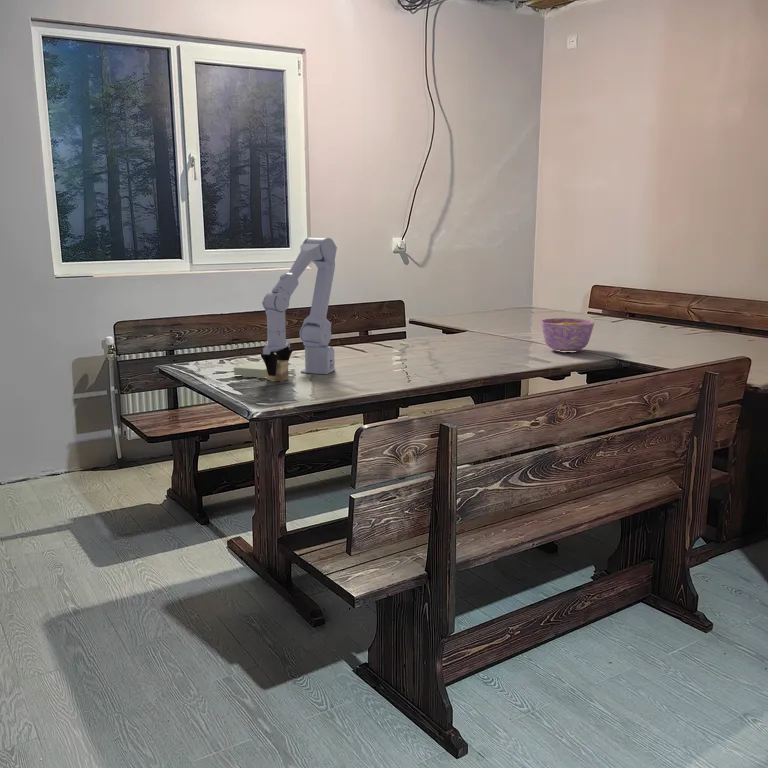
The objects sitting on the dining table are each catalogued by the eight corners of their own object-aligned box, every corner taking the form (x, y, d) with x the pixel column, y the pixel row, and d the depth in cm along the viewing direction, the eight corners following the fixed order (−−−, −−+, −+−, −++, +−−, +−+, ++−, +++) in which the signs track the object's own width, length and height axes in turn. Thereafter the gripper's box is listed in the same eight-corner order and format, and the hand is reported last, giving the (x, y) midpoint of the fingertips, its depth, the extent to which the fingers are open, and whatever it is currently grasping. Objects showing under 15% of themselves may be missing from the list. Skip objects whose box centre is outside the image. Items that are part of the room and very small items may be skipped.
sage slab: (280, 372, 256) (280, 363, 255) (264, 378, 246) (264, 369, 245) (251, 370, 260) (250, 361, 259) (234, 376, 250) (234, 367, 249)
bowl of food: (588, 347, 305) (589, 318, 303) (596, 356, 286) (598, 325, 284) (537, 346, 307) (538, 317, 305) (542, 355, 288) (543, 324, 285)
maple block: (288, 378, 246) (288, 360, 245) (281, 382, 242) (280, 363, 240) (274, 377, 248) (274, 359, 247) (267, 380, 243) (266, 362, 242)
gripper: (275, 327, 250) (276, 368, 252) (253, 333, 236) (255, 376, 239) (295, 328, 247) (296, 369, 250) (274, 334, 234) (275, 378, 237)
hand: (277, 373), depth 244 cm, fingers open, 7 cm apart
